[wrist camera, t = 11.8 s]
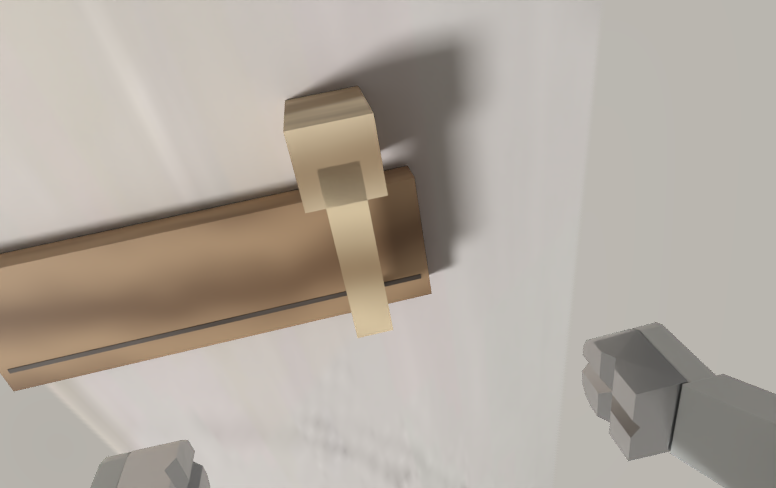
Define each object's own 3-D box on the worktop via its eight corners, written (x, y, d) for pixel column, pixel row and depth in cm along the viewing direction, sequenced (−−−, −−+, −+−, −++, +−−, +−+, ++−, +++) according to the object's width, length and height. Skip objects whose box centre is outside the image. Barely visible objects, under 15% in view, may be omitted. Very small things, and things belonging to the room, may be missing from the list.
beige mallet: (285, 100, 27) (283, 131, 22) (358, 85, 27) (373, 113, 22) (332, 283, 33) (339, 342, 28) (392, 270, 33) (410, 325, 28)
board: (-45, 263, 28) (-67, 283, 27) (407, 165, 30) (414, 178, 28) (28, 368, 32) (13, 392, 31) (424, 277, 34) (431, 294, 32)
